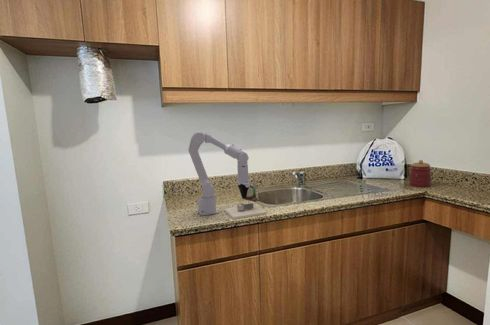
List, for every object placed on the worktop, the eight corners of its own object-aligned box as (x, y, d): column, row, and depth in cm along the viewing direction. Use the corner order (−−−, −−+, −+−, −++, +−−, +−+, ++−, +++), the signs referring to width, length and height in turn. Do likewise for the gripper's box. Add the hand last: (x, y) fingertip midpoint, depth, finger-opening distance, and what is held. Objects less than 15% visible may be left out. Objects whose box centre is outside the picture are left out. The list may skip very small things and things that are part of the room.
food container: (261, 199, 169) (261, 184, 168) (254, 202, 165) (254, 185, 164) (247, 196, 178) (246, 181, 177) (240, 198, 174) (240, 183, 172)
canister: (431, 188, 181) (432, 161, 178) (408, 186, 187) (409, 161, 185) (430, 184, 192) (431, 159, 189) (409, 182, 198) (409, 158, 196)
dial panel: (233, 219, 135) (233, 217, 135) (224, 210, 150) (224, 208, 150) (266, 214, 141) (266, 211, 141) (254, 206, 156) (254, 204, 156)
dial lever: (238, 211, 142) (238, 205, 142) (236, 209, 146) (236, 204, 145) (254, 209, 145) (254, 203, 145) (251, 207, 149) (251, 201, 148)
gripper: (254, 174, 143) (255, 199, 145) (245, 170, 157) (246, 193, 159) (242, 176, 141) (243, 201, 143) (233, 172, 154) (234, 195, 156)
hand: (244, 197), depth 150 cm, fingers closed
